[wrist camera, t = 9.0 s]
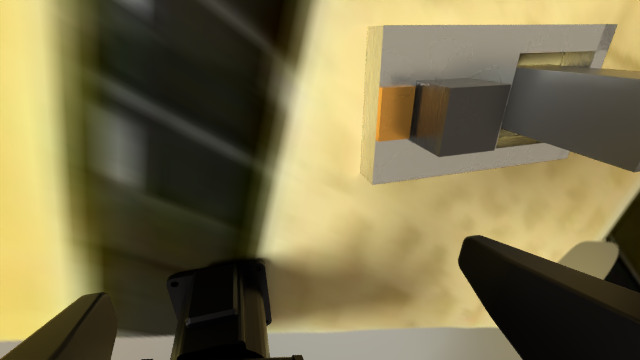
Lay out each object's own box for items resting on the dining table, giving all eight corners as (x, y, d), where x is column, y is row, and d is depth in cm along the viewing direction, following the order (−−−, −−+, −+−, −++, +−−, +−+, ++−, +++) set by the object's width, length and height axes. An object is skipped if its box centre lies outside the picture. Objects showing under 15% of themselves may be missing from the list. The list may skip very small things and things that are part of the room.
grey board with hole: (542, 149, 24) (611, 173, 20) (360, 172, 20) (394, 208, 16) (584, 25, 20) (681, 21, 16) (367, 27, 16) (416, 21, 12)
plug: (531, 120, 22) (692, 163, 15) (488, 124, 22) (633, 172, 14) (549, 64, 21) (741, 79, 13) (502, 66, 20) (679, 82, 12)
